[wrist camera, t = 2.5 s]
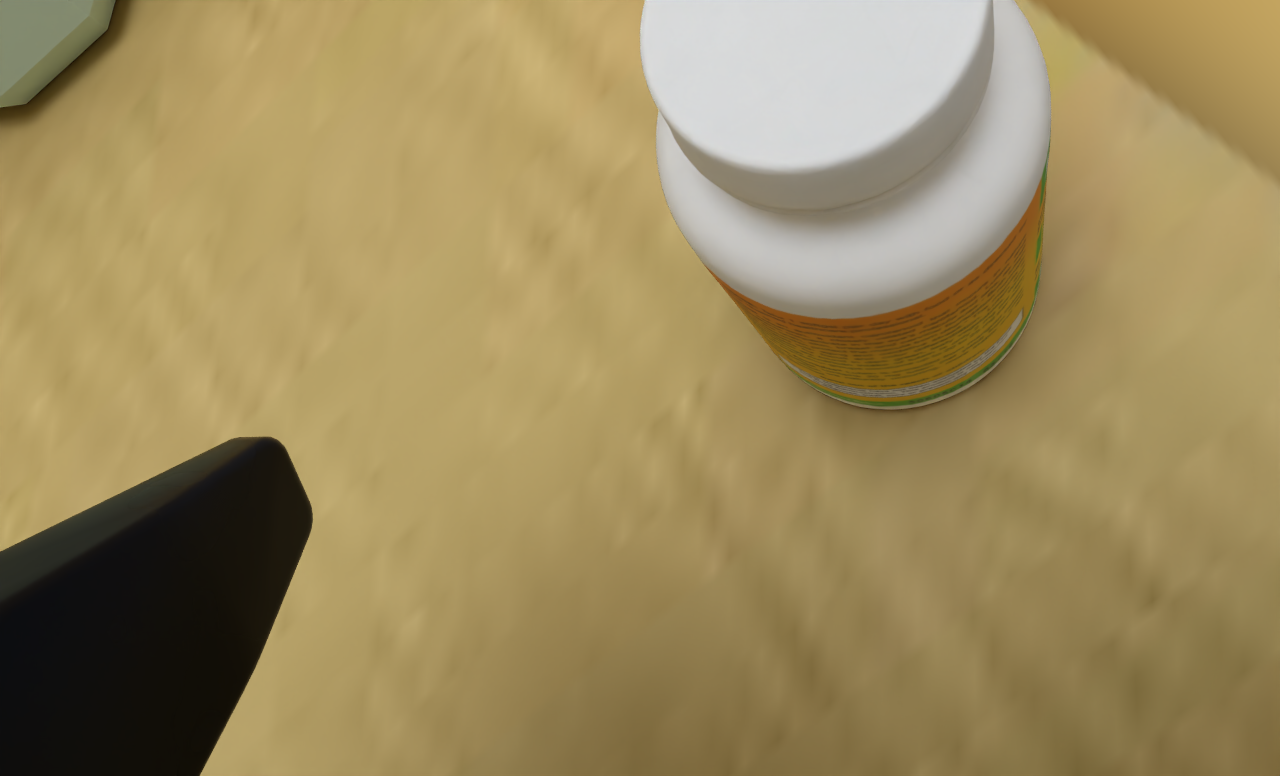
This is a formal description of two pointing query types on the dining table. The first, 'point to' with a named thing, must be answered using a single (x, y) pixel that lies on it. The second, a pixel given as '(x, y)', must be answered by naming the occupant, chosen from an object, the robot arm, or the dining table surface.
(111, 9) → the water bottle
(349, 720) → the dining table surface
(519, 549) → the dining table surface
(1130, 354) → the dining table surface
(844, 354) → the supplement bottle
